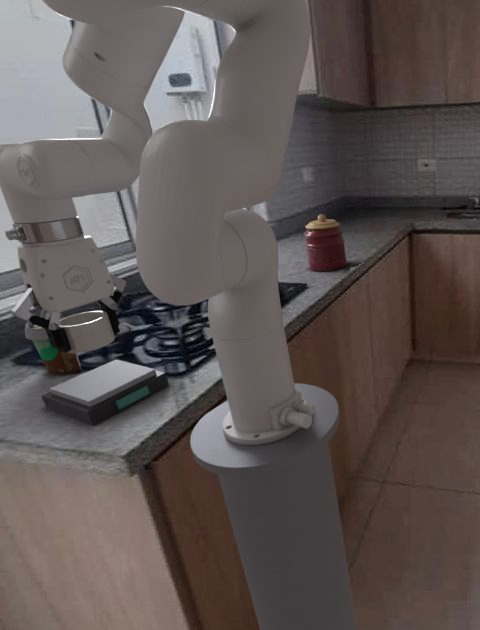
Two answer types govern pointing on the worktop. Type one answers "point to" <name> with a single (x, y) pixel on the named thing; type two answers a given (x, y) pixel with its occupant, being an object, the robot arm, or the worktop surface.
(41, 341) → the food container
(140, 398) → the scale
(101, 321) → the bowl
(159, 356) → the worktop surface
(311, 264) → the kitchen canister
